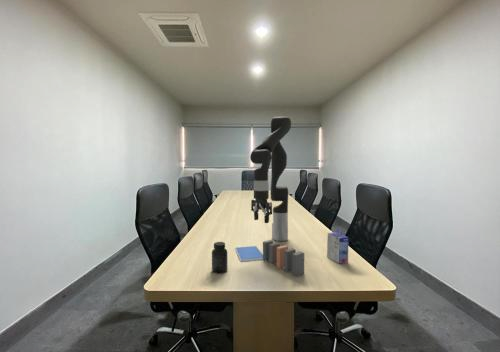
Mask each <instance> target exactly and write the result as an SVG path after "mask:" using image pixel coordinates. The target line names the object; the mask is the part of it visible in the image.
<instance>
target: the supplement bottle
mask: <svg viewBox="0 0 500 352" xmlns="http://www.w3.org/2000/svg"><path fill="white" fill-rule="evenodd" d="M228 266H229V264H228V249H226V243H225V242H223V241H217V242H214V243H213V249H212V251H211V271H212V273H214V274H224V273H226V272H227V271H228Z"/></svg>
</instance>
